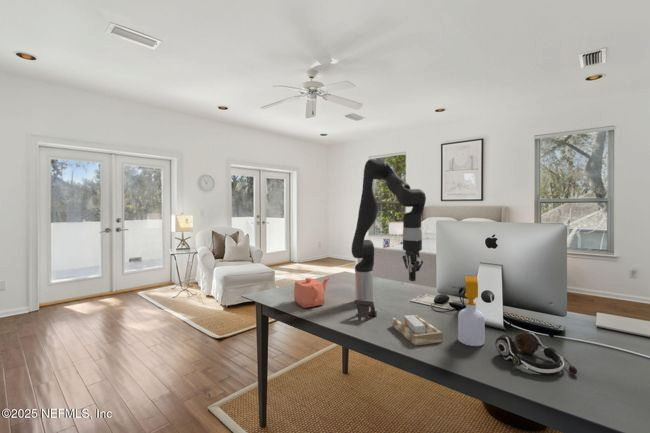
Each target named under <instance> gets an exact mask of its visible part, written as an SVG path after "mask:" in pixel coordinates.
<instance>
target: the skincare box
mask: <svg viewBox="0 0 650 433" xmlns="http://www.w3.org/2000/svg"><path fill="white" fill-rule="evenodd" d="M403 324H404V325H405V326H406V327H408V328H409V329H410V330H411V331H413V332H414V333H415V334H425V333H426V332H425V325H424V324H423V323H421V322H420V321H419V320H418V319H417V318H416V317H415V316H414V314H410V315H403Z"/></svg>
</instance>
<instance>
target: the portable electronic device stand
mask: <svg viewBox="0 0 650 433" xmlns="http://www.w3.org/2000/svg"><path fill="white" fill-rule="evenodd" d="M354 305H356V310H357V314H358V316H357V320H358V321H361V320H362V318H364V321H366V322H367V321H369V317H377V316H378V315H377V314H378V313H377V310H376V308H375V307H376V306H375V301H373V302H371V301H362V300H356V299H354Z"/></svg>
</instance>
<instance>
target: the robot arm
mask: <svg viewBox="0 0 650 433" xmlns="http://www.w3.org/2000/svg"><path fill="white" fill-rule="evenodd" d="M363 169H364V170H363V178H362V179H363V180H362V191H361V198H360V202H359V208H358V215H357V222H356V227H355V232H354V236H353V238H352V242H351V255H352V257H353V258H354V259H361V260H360V261H359V262H358V263H356V264H355V266H354V271H355V272H354V273H355V274H354V275H355V279H354V280H355V284H354V285H355V300H362V301H371V302H374V272H373V271H374V265H375V245H374V243H373V241H372V240H371V239H365V238H366V235H367V233H368V232H369V230H370V229H371V227H372V226H373V225H374V223H375V222H376V220H377V217H378V216H377V215H378V210H379V203H378V201H377V197H376V196H375V193H374V189H373V184H374V183H373V182H374V180H383V181H386V186H387V188H388V190H389V191H390V192H391V193H392V194H394V195H395V197H396V199H397V201H398V203H399V205H401V206H402V207H406V208H410V207H411V210H410V211H409V212H405V213H404V214H403V218H402V221H403V222H402V223H403V224H402V226H403V227H402V250H403V251H405V255H402V260H403V263H404V266H405V269H407V271H408V280H409V281H411V282H416V279H417V277H416V276H417V274H416V273H417V272H419V271H420V269H421V267H422V266H423V264H424V261H423V260H421V259H420V258H421V257H420V251H422V249H423V231H422V217H423V213H424V209H425V206H426V200H427V196H426V193H425V192H424V191H423V190H422V189H419V188H413V189H412V188H411V186H410V184H409V183H408V182H406V181H405V180H404V179H403V178H401V177H400V176H398V174H397V173H396V172H395V171H394V169H393V168H392V167H391V166H390V164H389V163H388V162H386V160H377V159H368V160H367V161H366V162H365V165H364V168H363Z"/></svg>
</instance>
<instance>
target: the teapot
mask: <svg viewBox="0 0 650 433" xmlns="http://www.w3.org/2000/svg"><path fill="white" fill-rule="evenodd" d="M330 279H331V277H326V278H324V279H323V281H322V282H321V281H319V280H317V279H315V278H312V277H306V278H305V279H301V280H300V279H299V280H295V282H294V286H293V287H294V289H293V299H294V302H295V304H297V305H298V306H300V307H302V308H303V309H306V308H307V309H308V308H313V307H316V306H322V305H325V301H326V300H325V292H326V288H327V282H328V280H330Z"/></svg>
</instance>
